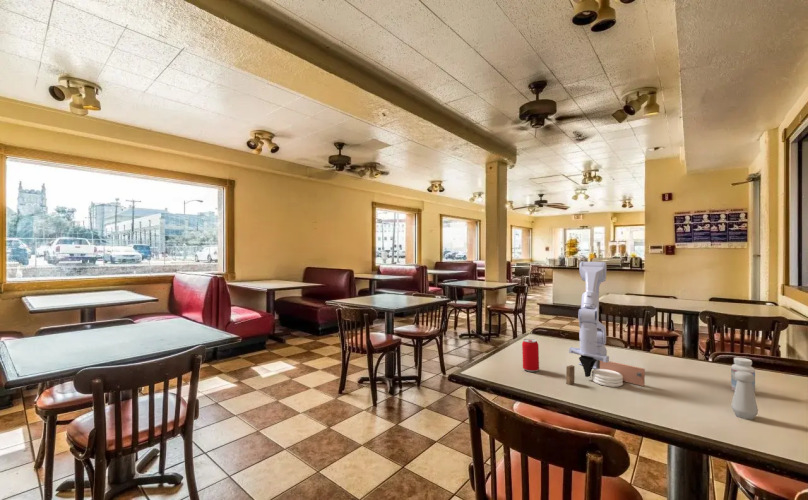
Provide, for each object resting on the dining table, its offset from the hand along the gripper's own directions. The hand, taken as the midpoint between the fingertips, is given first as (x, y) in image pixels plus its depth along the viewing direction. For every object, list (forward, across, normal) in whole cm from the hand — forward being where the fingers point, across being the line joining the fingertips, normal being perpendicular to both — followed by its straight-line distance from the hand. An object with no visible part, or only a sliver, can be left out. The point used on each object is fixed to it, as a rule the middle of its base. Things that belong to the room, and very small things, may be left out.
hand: (587, 376), depth 134 cm
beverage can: (+1, -18, -10) cm, 21 cm away
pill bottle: (+1, +34, +36) cm, 50 cm away
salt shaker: (+2, +41, +11) cm, 43 cm away
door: (+1, +7, +9) cm, 12 cm away
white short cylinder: (+2, +5, +4) cm, 6 cm away
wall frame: (+1, -1, 0) cm, 2 cm away
